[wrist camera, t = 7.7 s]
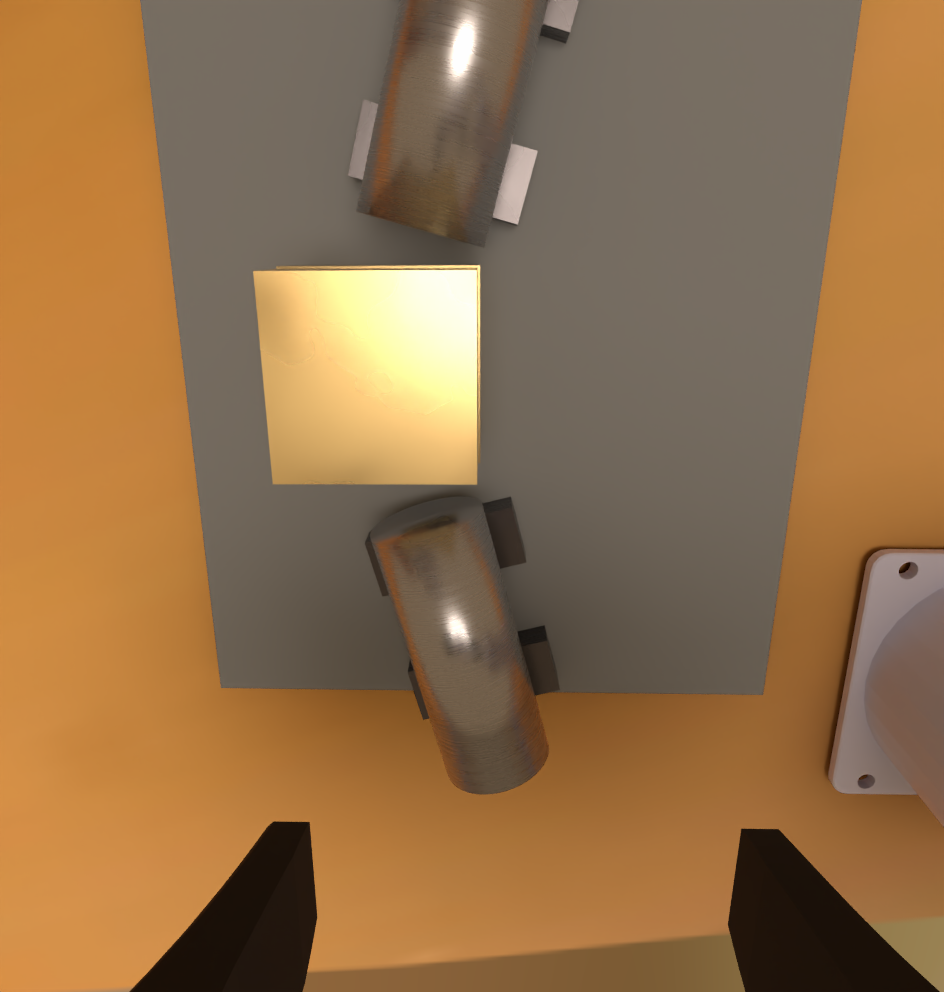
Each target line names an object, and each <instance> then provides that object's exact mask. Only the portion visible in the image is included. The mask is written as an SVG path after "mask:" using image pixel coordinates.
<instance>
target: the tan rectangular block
mask: <svg viewBox="0 0 944 992" xmlns="http://www.w3.org/2000/svg"><path fill="white" fill-rule="evenodd" d="M253 275H254V286H255V297H256V307H257V318H258V329H259V340H260V351H261V362H262V373H263V384H264V395H265V405H266V416H267V427H268V438H269V449H270V460H271V471H272V482H273V484H450V485H477V475H478V463H480V457H481V299H480V265H287V266H276V269H270V270H258V271H253Z"/></svg>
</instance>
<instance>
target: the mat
mask: <svg viewBox="0 0 944 992" xmlns="http://www.w3.org/2000/svg"><path fill="white" fill-rule="evenodd" d="M140 2H141V10H142V19H143V27H144V36H145V44H146V53H147V61H148V70H149V78H150V87H151V95H152V104H153V112H154V121H155V129H156V138H157V146H158V155H159V163H160V172H161V180H162V189H163V198H164V206H165V215H166V223H167V232H168V240H169V249H170V257H171V266H172V274H173V283H174V291H175V300H176V308H177V317H178V325H179V334H180V342H181V351H182V359H183V368H184V376H185V385H186V393H187V402H188V410H189V419H190V427H191V436H192V444H193V453H194V462H195V470H196V479H197V487H198V496H199V504H200V513H201V521H202V530H203V538H204V547H205V555H206V564H207V572H208V581H209V589H210V598H211V606H212V615H213V623H214V632H215V640H216V649H217V657H218V666H219V674H220V683H221V688H269V689H347V690H413V687H412V684H411V681H410V678H409V675H408V667H409V661H410V657H409V654H408V651H407V648H406V645H405V642H404V639H403V636H402V633H401V630H400V627H399V624H398V621H397V618H396V615H395V612H394V608H393V605H392V602H391V599H390V596H389V595H387V596H383V597H382V594H381V591H380V588H379V585H378V582H377V579H376V576H375V573H374V570H373V567H372V564H371V561H370V558H369V555H368V552H367V549H366V546H365V541H366V539H367V536H368V534H369V532H370V531H372V530H373V529H374V527H375V526H376V525H378V524H379V523H380V522H381V521H383V520H384V519H386V518H388V517H389V516H391V515H393V514H395V513H397V512H399V511H402V510H404V509H406V508H409V507H412V506H415V505H417V504H421V503H424V502H428V501H432V500H436V499H441V498H448V497H461V496H463V497H473V498H476V499H478V500H480V501H481V502H482V503H486V502H490V501H494V500H499V499H503V498H507V497H511V498H512V502H513V506H514V510H515V514H516V517H517V521H518V525H519V529H520V533H521V537H522V540H523V544H524V548H525V554H526V562H527V563H523V564H519V565H514V566H510V567H506V568H502V569H500V570H501V574H502V578H503V581H504V585H505V589H506V592H507V596H508V599H509V603H510V607H511V610H512V614H513V618H514V621H515V625H516V628H517V631H521V630H526V629H530V628H534V627H539V626H543V625H545V628H546V632H547V636H548V640H549V643H550V647H551V651H552V655H553V659H554V662H555V666H556V670H557V675H558V681H559V687H560V690H557V691H553V692H582V693H660V694H738V695H763V692H764V684H765V677H766V670H767V663H768V656H769V649H770V642H771V635H772V628H773V621H774V614H775V607H776V600H777V593H778V586H779V579H780V572H781V565H782V558H783V551H784V544H785V537H786V530H787V523H788V516H789V509H790V502H791V495H792V488H793V481H794V474H795V467H796V460H797V453H798V446H799V439H800V432H801V425H802V418H803V411H804V404H805V397H806V390H807V383H808V376H809V369H810V362H811V355H812V348H813V341H814V334H815V326H816V319H817V312H818V305H819V298H820V291H821V284H822V277H823V270H824V263H825V256H826V249H827V242H828V235H829V228H830V221H831V214H832V207H833V200H834V193H835V186H836V179H837V172H838V165H839V158H840V151H841V144H842V137H843V130H844V123H845V116H846V109H847V102H848V95H849V88H850V81H851V74H852V67H853V60H854V53H855V46H856V39H857V32H858V25H859V18H860V11H861V4H862V0H579V1H578V5H577V9H576V12H575V16H574V20H573V23H572V27H571V31H570V34H569V36H568V39H567V42H566V43H563V42H560V41H557V40H553V39H550V38H547V37H544V36H540V37H539V41H538V45H537V48H536V52H535V56H534V60H533V64H532V67H531V71H530V75H529V79H528V83H527V87H526V90H525V94H524V98H523V102H522V106H521V109H520V113H519V117H518V121H517V125H516V129H515V132H514V136H513V140H512V144H516V145H519V146H523V147H526V148H529V149H533V150H536V151H538V152H537V156H536V159H535V163H534V167H533V170H532V174H531V178H530V181H529V185H528V189H527V192H526V196H525V200H524V203H523V207H522V211H521V214H520V218H519V222H518V225H517V226H515V225H512V224H508V223H505V222H502V221H498V220H495V219H492V220H491V224H490V228H489V232H488V236H487V239H486V243H485V247H484V248H482V247H478V246H475V245H471V244H468V243H464V242H461V241H457V240H454V239H450V238H447V237H443V236H440V235H436V234H433V233H429V232H426V231H422V230H419V229H415V228H412V227H408V226H405V225H401V224H398V223H394V222H391V221H387V220H384V219H380V218H377V217H373V216H370V215H366V214H363V213H359V212H356V209H357V205H358V200H359V195H360V190H361V185H362V181H359V180H356V179H353V178H351V177H350V176H348V173H349V168H350V163H351V158H352V153H353V148H354V143H355V138H356V133H357V128H358V123H359V118H360V113H361V108H362V103H363V100H367V101H370V102H374V103H377V104H378V103H379V98H380V93H381V89H382V84H383V79H384V74H385V69H386V65H387V60H388V55H389V50H390V45H391V40H392V36H393V31H394V26H395V21H396V16H397V11H398V7H399V2H400V0H140ZM287 265H480V299H481V457H480V463H478V475H477V485H450V484H273V482H272V471H271V460H270V449H269V438H268V427H267V416H266V405H265V395H264V384H263V373H262V362H261V351H260V340H259V329H258V318H257V307H256V297H255V286H254V275H253V271H258V270H270V269H276V266H287Z"/></svg>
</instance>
